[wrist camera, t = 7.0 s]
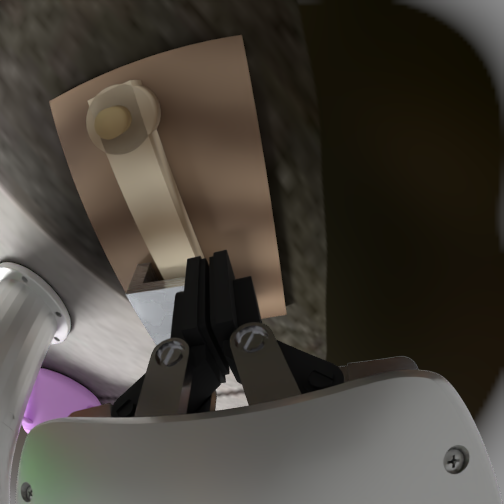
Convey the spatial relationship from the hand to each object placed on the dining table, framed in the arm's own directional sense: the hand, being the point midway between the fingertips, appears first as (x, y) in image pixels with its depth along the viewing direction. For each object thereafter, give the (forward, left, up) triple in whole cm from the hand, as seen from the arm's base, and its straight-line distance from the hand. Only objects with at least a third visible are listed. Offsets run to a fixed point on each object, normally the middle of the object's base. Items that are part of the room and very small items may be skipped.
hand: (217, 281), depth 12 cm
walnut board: (-3, +2, -10) cm, 11 cm away
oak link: (-3, +3, -9) cm, 10 cm away
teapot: (-43, +6, -10) cm, 45 cm away
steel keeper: (-9, -1, -10) cm, 14 cm away
